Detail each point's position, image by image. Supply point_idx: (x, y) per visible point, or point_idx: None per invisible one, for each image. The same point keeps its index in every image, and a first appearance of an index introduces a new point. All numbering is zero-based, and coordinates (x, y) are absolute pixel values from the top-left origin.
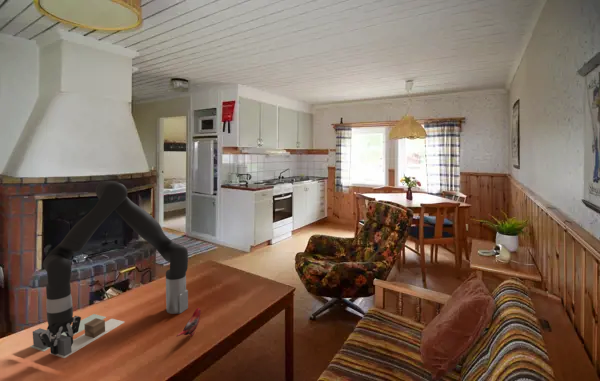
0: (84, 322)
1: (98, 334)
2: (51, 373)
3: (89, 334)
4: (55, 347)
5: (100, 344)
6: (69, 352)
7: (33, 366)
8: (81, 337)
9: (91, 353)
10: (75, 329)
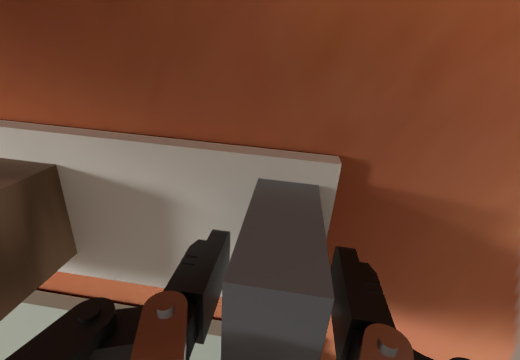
0: (11, 351)
1: (8, 162)
2: (503, 117)
3: (50, 221)
4: (368, 307)
5: (73, 58)
6: (276, 183)
7: (422, 300)
8: (103, 257)
9: (189, 15)
10: (78, 353)
